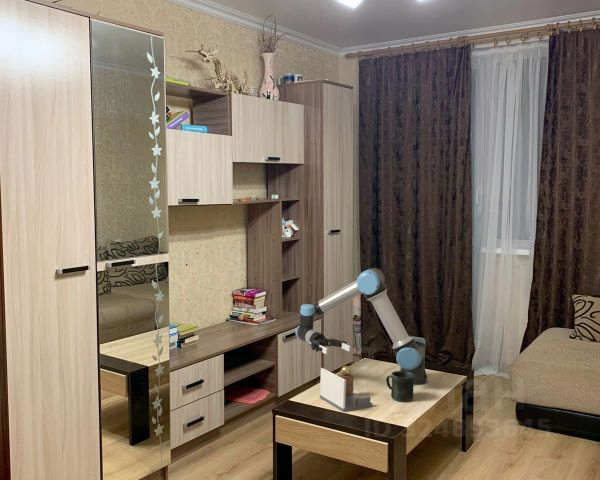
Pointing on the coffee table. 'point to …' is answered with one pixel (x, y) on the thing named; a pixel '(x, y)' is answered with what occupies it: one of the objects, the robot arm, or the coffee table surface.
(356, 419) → the coffee table surface
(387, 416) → the coffee table surface
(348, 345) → the robot arm
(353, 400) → the stand
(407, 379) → the mug
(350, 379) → the slider
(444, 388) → the coffee table surface
